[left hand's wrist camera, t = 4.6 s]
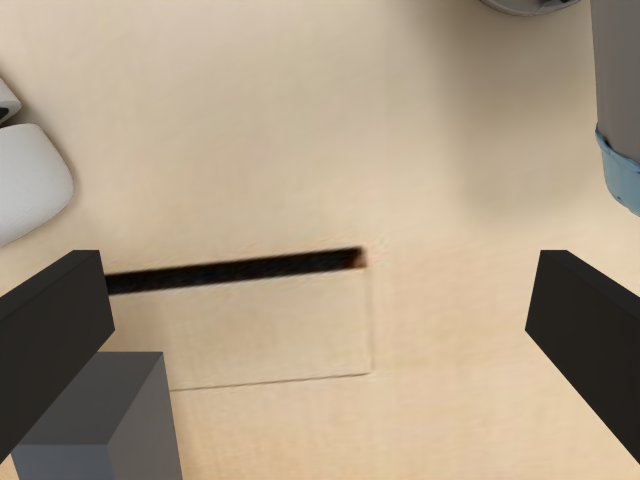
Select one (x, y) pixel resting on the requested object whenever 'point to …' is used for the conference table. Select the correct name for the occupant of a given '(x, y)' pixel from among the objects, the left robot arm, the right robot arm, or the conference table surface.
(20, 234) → the projector
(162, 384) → the bar
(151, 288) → the conference table surface
